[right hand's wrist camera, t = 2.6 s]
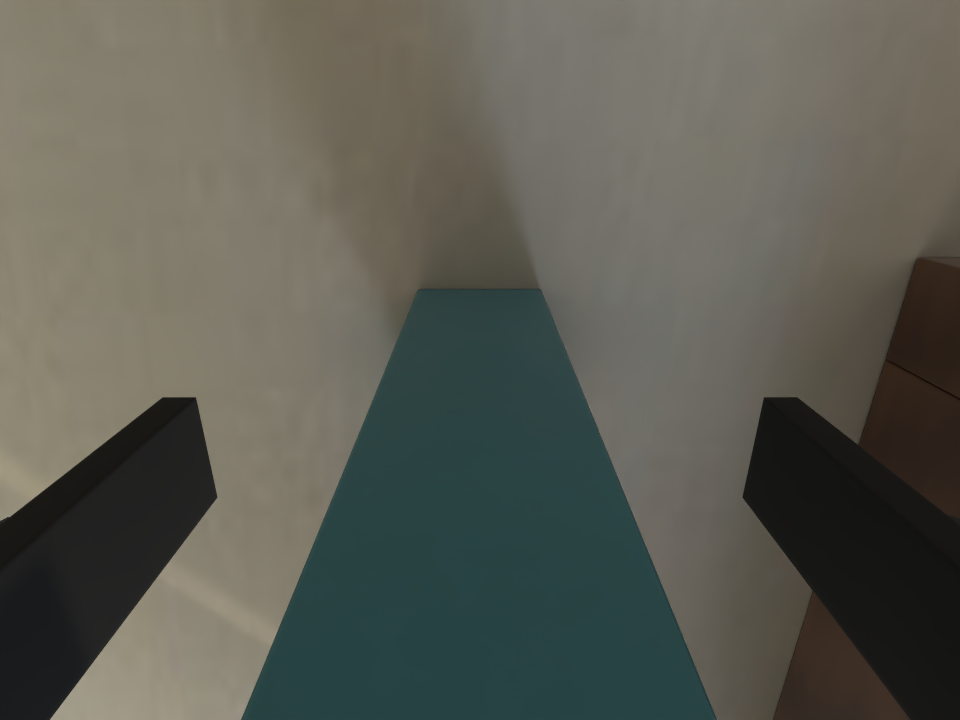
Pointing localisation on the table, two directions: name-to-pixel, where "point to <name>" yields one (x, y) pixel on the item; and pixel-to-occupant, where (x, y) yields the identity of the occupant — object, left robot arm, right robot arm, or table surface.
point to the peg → (479, 546)
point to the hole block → (912, 457)
